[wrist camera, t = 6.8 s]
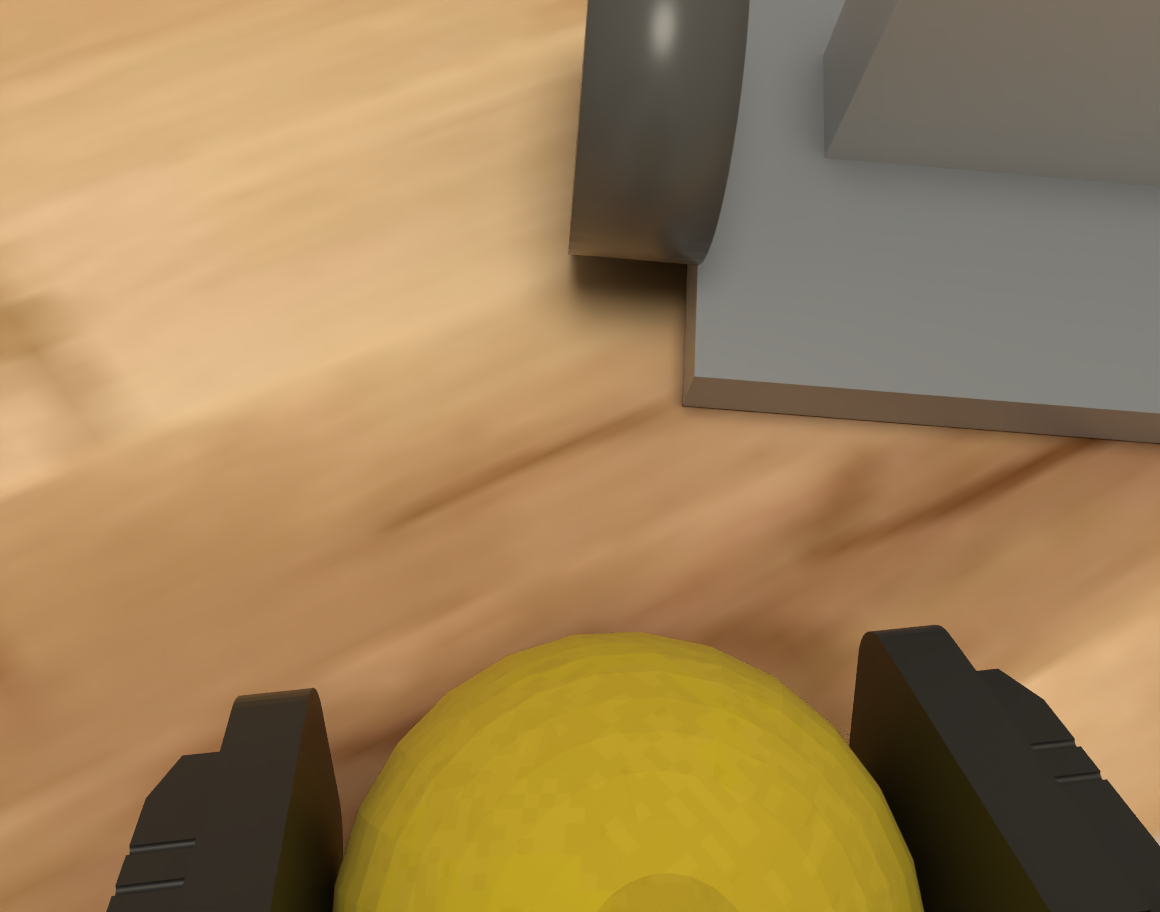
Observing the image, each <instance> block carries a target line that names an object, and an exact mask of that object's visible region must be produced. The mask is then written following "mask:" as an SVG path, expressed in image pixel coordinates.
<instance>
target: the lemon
mask: <svg viewBox="0 0 1160 912" xmlns="http://www.w3.org/2000/svg"><path fill="white" fill-rule="evenodd" d="M333 912H924V909H923V904H922V899H921V894H920V890H919V885H918V880H917V875H916V870H915V866H914V861H913V858H912V856H911V854H910V852H909V850H908V847H907V845H906V843H905V841H904V839H903V836H902V834H901V832H900V830H899V828H898V826H897V823H896V821H895V819H894V817H893V815H892V812H891V810H890V808H889V806H888V804H887V802H886V799H885V797H884V795H883V793H882V791H881V789H880V787H879V785H878V784H877V783H876V781H875V780H874V779H873V777H872V776H871V775H870V773H869V772H868V771H867V769H866V768H865V767H864V766H863V764H862V763H861V762H860V760H859V759H858V758H857V756H856V755H855V754H854V752H853V751H852V750H851V748H850V747H849V746H848V744H847V743H846V742H845V741H844V739H843V738H842V737H841V735H840V734H839V733H838V731H837V730H836V729H835V727H834V726H833V725H832V724H831V723H830V722H828V721H827V720H826V719H825V718H823V717H822V716H821V715H820V714H819V713H817V712H816V711H815V710H814V709H813V708H811V707H810V706H809V705H808V704H807V703H805V702H804V701H803V700H802V699H800V698H799V697H798V696H797V695H796V694H794V693H793V692H792V691H791V690H790V689H788V688H787V687H786V686H785V685H783V684H782V683H781V682H780V681H779V680H777V679H776V678H775V677H773V676H771V675H769V674H767V673H765V672H763V671H761V670H759V669H757V668H755V667H753V666H750V665H748V664H746V663H744V662H742V661H740V660H738V659H736V658H734V657H732V656H729V655H727V654H725V653H723V652H721V651H719V650H717V649H715V648H713V647H711V646H706V645H702V644H697V643H692V642H687V641H682V640H677V639H673V638H668V637H663V636H658V635H653V634H648V633H643V632H623V633H602V634H581V635H571V636H567V637H564V638H561V639H558V640H555V641H552V642H549V643H545V644H542V645H539V646H536V647H533V648H530V649H526V650H523V651H520V652H517V653H514V654H511V655H508V656H506V657H504V658H503V659H501V660H499V661H498V662H496V663H495V664H493V665H491V666H490V667H488V668H486V669H485V670H483V671H482V672H480V673H478V674H477V675H475V676H473V677H472V678H470V679H469V680H467V681H465V682H464V683H462V684H461V685H459V686H457V687H456V688H454V689H452V690H451V691H449V692H448V693H447V694H446V695H445V696H444V697H443V698H442V699H441V700H440V701H439V702H438V703H437V704H436V705H435V706H434V707H433V708H432V709H431V710H430V711H429V712H428V713H427V714H426V715H425V716H424V717H423V718H422V719H421V720H420V721H419V722H418V723H417V724H416V725H415V726H414V727H413V728H412V729H411V730H410V731H409V732H408V733H407V734H406V735H405V736H404V737H403V738H402V739H401V740H400V741H399V742H398V743H397V745H396V747H395V748H394V750H393V752H392V753H391V755H390V757H389V758H388V760H387V762H386V763H385V765H384V767H383V769H382V770H381V772H380V774H379V775H378V777H377V779H376V780H375V782H374V784H373V785H372V787H371V789H370V791H369V792H368V794H367V796H366V797H365V799H364V801H363V802H362V804H361V806H360V807H359V809H358V812H357V815H356V818H355V822H354V825H353V828H352V831H351V834H350V837H349V841H348V844H347V847H346V850H345V853H344V857H343V860H342V863H341V866H340V869H339V873H338V876H337V879H336V882H335V886H334V899H333Z"/></svg>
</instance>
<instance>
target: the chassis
mask: <svg viewBox="0 0 1160 912" xmlns="http://www.w3.org/2000/svg"><path fill="white" fill-rule="evenodd" d="M568 254H572V255H584V256H596V257H609V258H621V259H633V260H645V261H657V262H669V263H681V264H687V290H686V319H685V348H684V377H683V406H693V407H706V408H719V409H731V410H744V411H757V412H769V413H782V414H795V415H807V416H820V417H833V418H845V419H858V420H871V421H883V422H896V423H909V424H921V425H934V426H947V427H959V428H972V429H985V430H998V431H1010V432H1023V433H1036V434H1048V435H1061V436H1074V437H1086V438H1099V439H1112V440H1124V441H1137V442H1150V443H1160V0H588V3H587V16H586V28H585V41H584V54H583V66H582V79H581V92H580V105H579V118H578V130H577V143H576V156H575V170H574V183H573V196H572V209H571V223H570V236H569V251H568Z"/></svg>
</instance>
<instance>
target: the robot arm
mask: <svg viewBox="0 0 1160 912" xmlns="http://www.w3.org/2000/svg"><path fill="white" fill-rule="evenodd" d="M849 747H850V748H851V750H852V751H853V752H854V754H855V755H856V756H857V758H858V759H859V760H860V762H861V763H862V764H863V766H864V767H865V768H866V769H867V771H868V772H869V773H870V775H871V776H872V777H873V779H874V780H875V781H876V783H877V784H878V785H879V787H880V789H881V791H882V793H883V795H884V797H885V799H886V802H887V804H888V806H889V808H890V810H891V812H892V815H893V817H894V819H895V821H896V823H897V826H898V828H899V830H900V832H901V834H902V836H903V839H904V841H905V843H906V845H907V847H908V850H909V852H910V854H911V856H912V858H913V861H914V866H915V870H916V875H917V880H918V885H919V890H920V894H921V899H922V904H923V909H924V912H1160V846H1159V845H1158V843H1157V842H1156V841H1155V839H1154V838H1153V837H1152V836H1151V834H1150V833H1149V832H1148V831H1147V829H1146V828H1145V827H1144V826H1143V824H1142V823H1141V822H1140V821H1139V819H1138V818H1137V817H1136V815H1135V814H1134V813H1133V812H1132V810H1131V809H1130V808H1129V807H1128V805H1127V804H1126V803H1125V802H1124V800H1123V799H1122V798H1121V797H1120V795H1119V794H1118V793H1117V792H1116V790H1115V789H1114V788H1113V786H1112V785H1111V784H1110V783H1109V781H1108V780H1102V778H1101V775H1100V770H1099V769H1098V768H1097V766H1096V765H1095V764H1094V762H1093V761H1092V760H1091V759H1090V757H1089V756H1088V755H1087V754H1086V752H1085V751H1084V750H1083V749H1082V747H1081V746H1080V747H1076V745H1075V738H1074V737H1073V736H1072V735H1071V733H1070V732H1069V731H1068V730H1067V728H1066V727H1065V726H1064V725H1063V723H1062V722H1061V721H1060V720H1059V718H1058V717H1057V716H1056V714H1055V713H1054V712H1053V711H1052V709H1051V708H1050V707H1049V706H1048V704H1047V703H1046V702H1045V701H1044V700H1043V699H1042V698H1040V697H1039V696H1038V695H1036V694H1035V693H1033V692H1032V691H1030V690H1029V689H1027V688H1026V687H1024V686H1023V685H1021V684H1020V683H1018V682H1017V681H1015V680H1014V679H1012V678H1011V677H1010V676H1008V675H1007V674H1005V673H1004V672H1002V671H1001V670H999V669H991V670H982V671H976V670H975V669H974V667H973V666H972V664H971V663H970V662H969V660H968V659H967V658H966V656H965V655H964V653H963V652H962V651H961V649H960V648H959V647H958V645H957V644H956V643H955V641H954V640H953V638H952V637H951V636H950V634H949V633H948V632H947V631H946V630H945V629H944V628H943V627H941V626H939V625H929V626H919V627H910V628H900V629H890V630H881V631H871V632H867V633H865V635H864V636H863V638H862V640H861V643H860V647H859V655H858V665H857V674H856V684H855V694H854V704H853V713H852V723H851V733H850V743H849ZM342 858H343V833H342V817H341V808H340V801H339V796H338V790H337V785H336V780H335V775H334V770H333V764H332V759H331V754H330V749H329V743H328V738H327V733H326V728H325V722H324V717H323V712H322V707H321V702H320V699H319V695H318V693H317V691H316V689H314V688H309V689H300V690H290V691H281V692H271V693H262V694H252V695H242V696H238V697H237V698H236V700H235V702H234V704H233V707H232V710H231V714H230V717H229V721H228V724H227V728H226V732H225V735H224V739H223V743H222V746H221V750H220V752H212V753H203V754H194V755H184V756H182V757H181V758H180V759H179V760H178V761H177V763H176V764H175V765H174V766H173V767H172V768H171V770H170V771H169V772H168V773H167V774H166V776H165V777H164V778H163V779H162V780H161V781H160V783H159V784H158V785H157V786H156V787H155V788H154V790H153V791H152V792H151V793H150V794H149V795H148V797H147V798H146V800H145V803H144V805H143V808H142V811H141V814H140V817H139V820H138V823H137V825H136V828H135V831H134V834H133V837H132V840H131V843H130V854H129V855H126V857H125V860H124V863H123V866H122V869H121V871H120V874H119V877H118V880H117V883H116V894H115V896H112V897H111V900H110V903H109V906H108V909H107V912H333V899H334V886H335V882H336V879H337V876H338V873H339V869H340V866H341V863H342Z"/></svg>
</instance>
